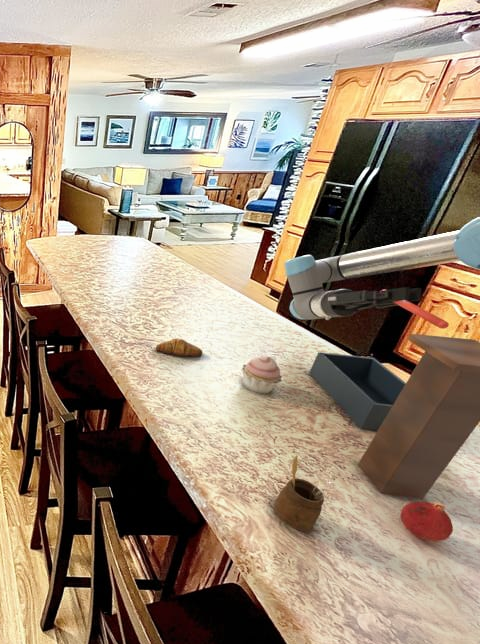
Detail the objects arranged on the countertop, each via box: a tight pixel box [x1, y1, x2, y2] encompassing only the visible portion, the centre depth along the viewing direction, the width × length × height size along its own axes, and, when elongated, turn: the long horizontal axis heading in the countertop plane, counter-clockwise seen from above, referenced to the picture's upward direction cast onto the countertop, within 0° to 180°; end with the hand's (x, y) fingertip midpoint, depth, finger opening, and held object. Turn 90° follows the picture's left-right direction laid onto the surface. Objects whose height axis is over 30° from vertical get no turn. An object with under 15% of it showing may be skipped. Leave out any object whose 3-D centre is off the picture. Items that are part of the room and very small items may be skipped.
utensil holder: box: [273, 454, 335, 532], centre depth 67 cm, size 6×6×12 cm
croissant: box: [155, 338, 203, 358], centre depth 117 cm, size 14×7×5 cm, turn 80°
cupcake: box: [241, 355, 283, 395], centre depth 101 cm, size 9×9×10 cm
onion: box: [400, 500, 454, 542], centre depth 65 cm, size 6×6×8 cm
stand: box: [357, 333, 480, 500], centre depth 71 cm, size 10×10×30 cm
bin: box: [308, 351, 407, 432], centre depth 97 cm, size 23×14×8 cm, turn 170°
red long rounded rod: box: [379, 289, 450, 329], centre depth 85 cm, size 18×2×2 cm, turn 170°
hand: (413, 293), depth 84 cm, fingers closed on red long rounded rod, 1 cm apart
